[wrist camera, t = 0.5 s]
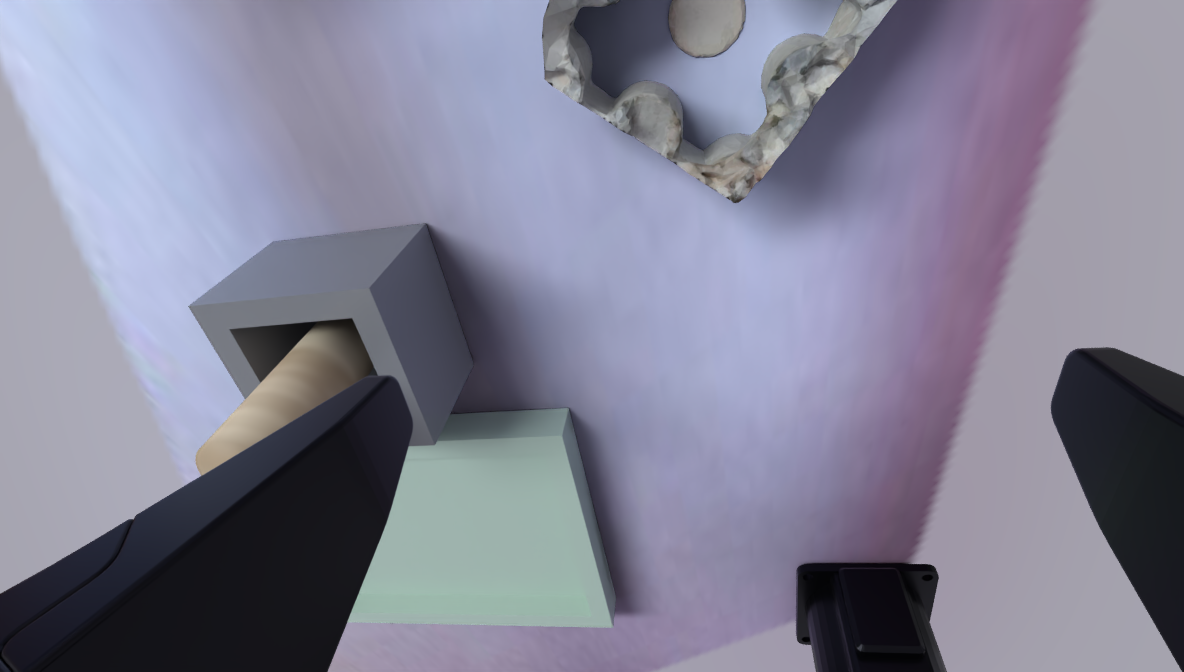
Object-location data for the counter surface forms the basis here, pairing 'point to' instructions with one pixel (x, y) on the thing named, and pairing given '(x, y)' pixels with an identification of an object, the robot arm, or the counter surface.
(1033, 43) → the counter surface
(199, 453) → the dowel pin
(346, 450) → the robot arm
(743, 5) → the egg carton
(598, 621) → the tray
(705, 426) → the counter surface
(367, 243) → the grey square sleeve
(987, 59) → the counter surface
